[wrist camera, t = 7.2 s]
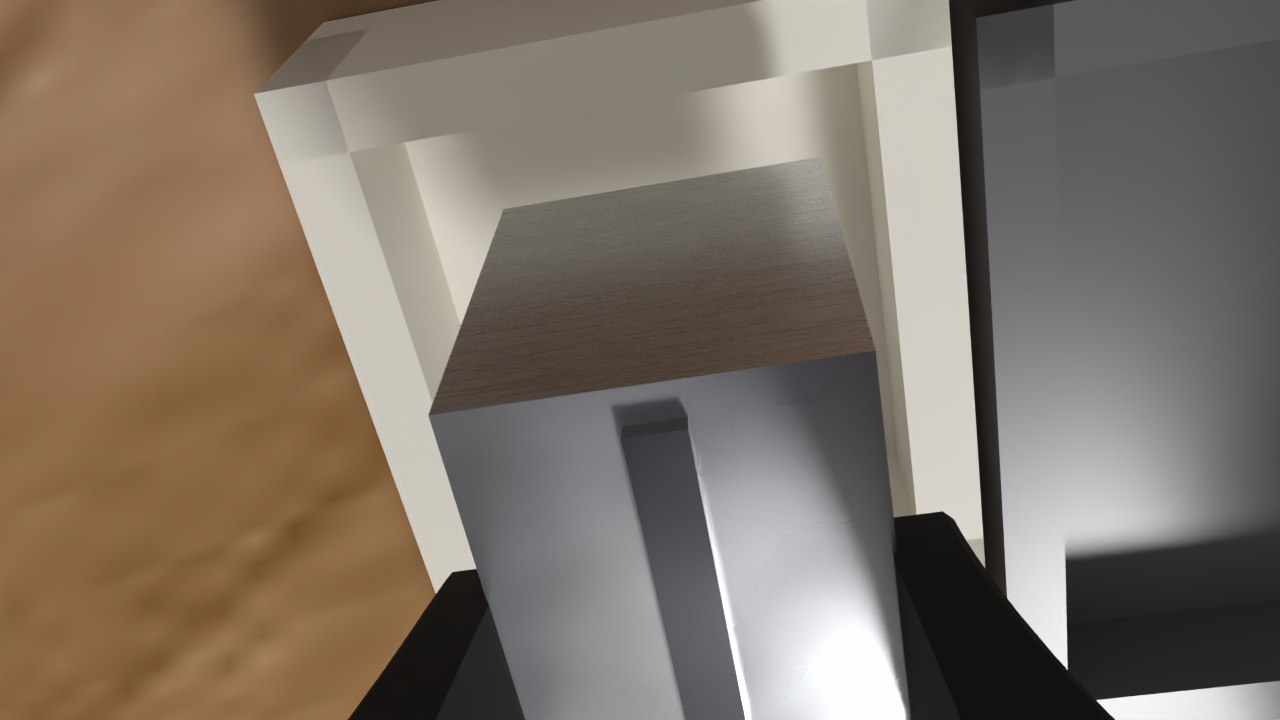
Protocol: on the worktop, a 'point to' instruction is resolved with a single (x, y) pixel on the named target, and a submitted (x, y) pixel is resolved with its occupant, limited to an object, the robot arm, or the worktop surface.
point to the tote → (1129, 338)
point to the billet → (679, 456)
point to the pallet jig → (626, 185)
